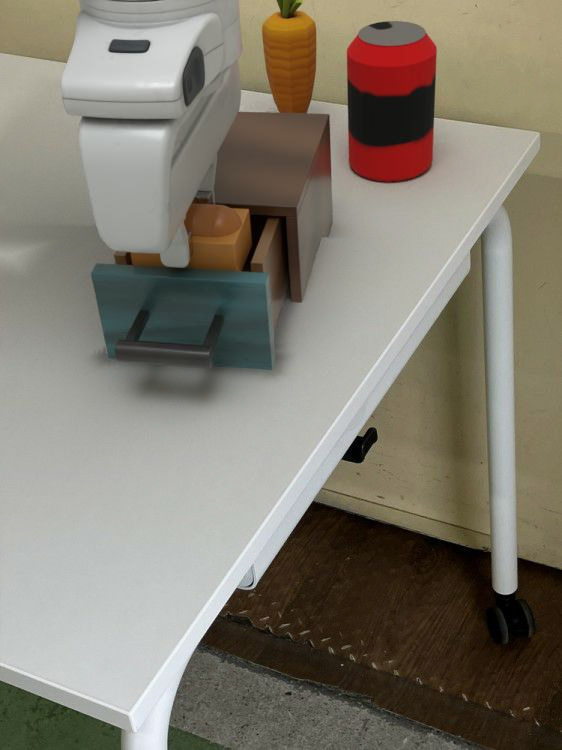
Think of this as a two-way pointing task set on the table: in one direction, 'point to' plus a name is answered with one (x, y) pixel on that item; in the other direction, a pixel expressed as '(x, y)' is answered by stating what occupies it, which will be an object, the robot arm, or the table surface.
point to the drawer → (197, 307)
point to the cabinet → (281, 180)
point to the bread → (212, 239)
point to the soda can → (391, 101)
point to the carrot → (290, 56)
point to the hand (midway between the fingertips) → (189, 237)
